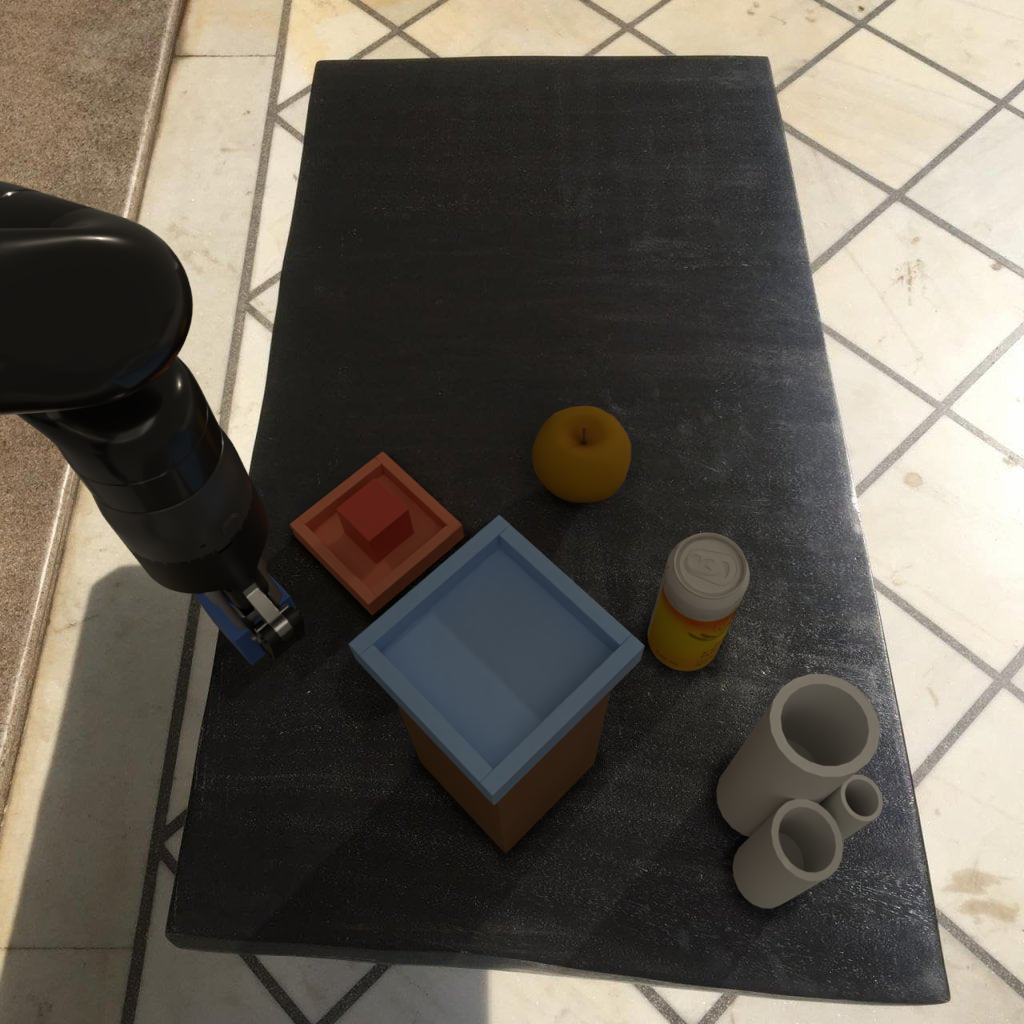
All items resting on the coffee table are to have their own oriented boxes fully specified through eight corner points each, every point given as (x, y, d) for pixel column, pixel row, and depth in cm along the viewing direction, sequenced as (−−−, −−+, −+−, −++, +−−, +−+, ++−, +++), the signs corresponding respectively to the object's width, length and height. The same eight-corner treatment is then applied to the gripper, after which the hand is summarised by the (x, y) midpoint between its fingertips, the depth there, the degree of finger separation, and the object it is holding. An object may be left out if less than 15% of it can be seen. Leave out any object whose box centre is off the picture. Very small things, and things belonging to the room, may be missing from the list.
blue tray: (505, 873, 74) (492, 796, 51) (402, 761, 79) (347, 643, 55) (612, 763, 78) (645, 645, 55) (508, 662, 82) (499, 514, 59)
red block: (376, 564, 87) (369, 541, 83) (344, 532, 88) (335, 508, 84) (414, 533, 88) (408, 509, 84) (382, 502, 90) (375, 477, 86)
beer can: (708, 683, 81) (742, 614, 68) (638, 661, 82) (658, 589, 69) (724, 619, 84) (760, 540, 71) (656, 599, 85) (679, 518, 72)
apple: (635, 520, 89) (645, 469, 81) (538, 531, 88) (539, 481, 81) (618, 438, 93) (626, 382, 85) (526, 449, 93) (525, 393, 85)
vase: (706, 763, 78) (756, 681, 60) (794, 750, 78) (868, 665, 61) (742, 913, 73) (808, 870, 55) (835, 898, 73) (930, 852, 55)
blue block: (252, 665, 66) (234, 641, 62) (213, 622, 68) (194, 595, 64) (303, 622, 68) (290, 596, 64) (264, 581, 69) (249, 552, 65)
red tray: (372, 615, 85) (368, 605, 83) (294, 536, 89) (289, 524, 87) (464, 537, 88) (462, 524, 86) (386, 464, 92) (382, 450, 90)
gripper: (51, 460, 54) (154, 589, 69) (200, 631, 49) (277, 730, 64) (163, 383, 56) (240, 524, 71) (317, 538, 51) (365, 654, 66)
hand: (257, 620), depth 67 cm, fingers closed on blue block, 4 cm apart
